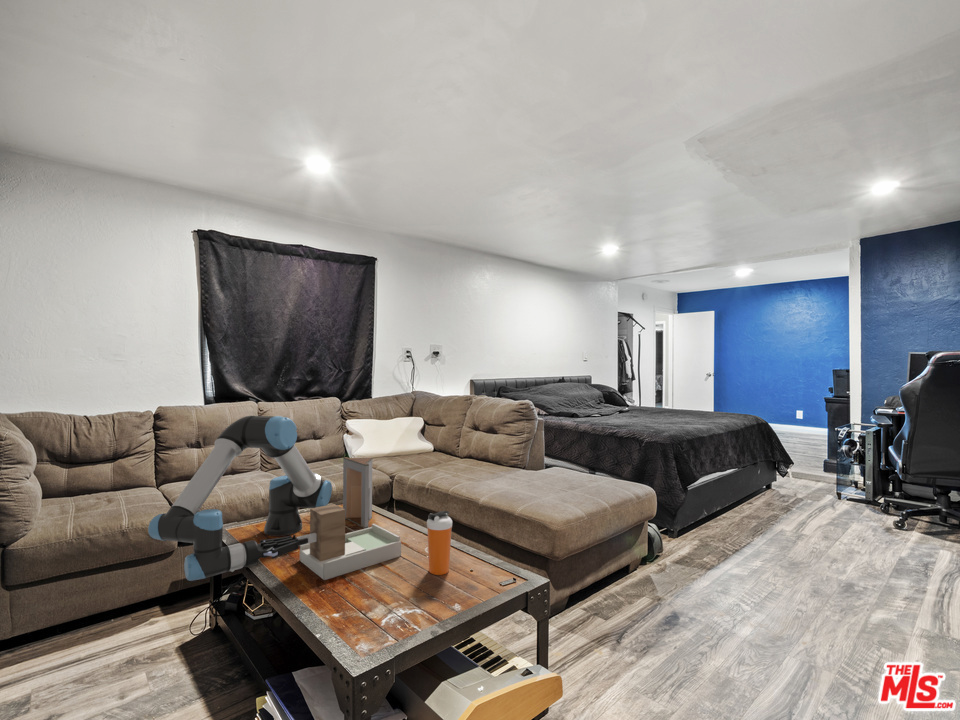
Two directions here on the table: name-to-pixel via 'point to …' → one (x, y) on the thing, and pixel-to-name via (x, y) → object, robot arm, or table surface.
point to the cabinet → (357, 490)
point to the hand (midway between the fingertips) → (315, 537)
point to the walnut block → (327, 532)
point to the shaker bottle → (439, 542)
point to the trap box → (356, 552)
